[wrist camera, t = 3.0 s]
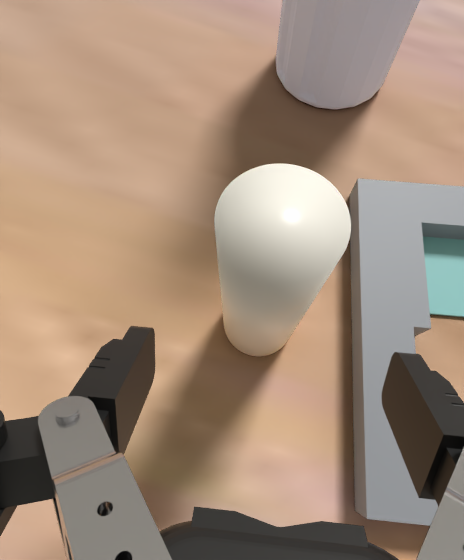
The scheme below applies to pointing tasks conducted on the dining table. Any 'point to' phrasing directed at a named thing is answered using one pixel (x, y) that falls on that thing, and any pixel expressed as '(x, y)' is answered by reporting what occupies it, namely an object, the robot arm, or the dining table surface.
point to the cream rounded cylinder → (275, 251)
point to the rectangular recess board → (396, 320)
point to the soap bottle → (339, 48)
